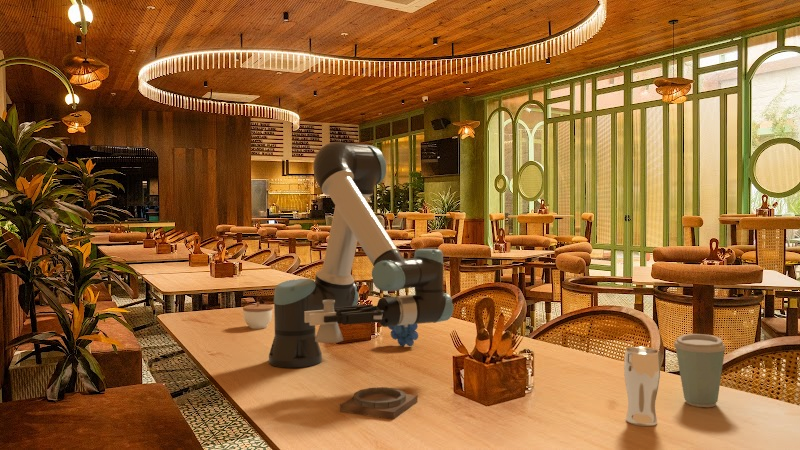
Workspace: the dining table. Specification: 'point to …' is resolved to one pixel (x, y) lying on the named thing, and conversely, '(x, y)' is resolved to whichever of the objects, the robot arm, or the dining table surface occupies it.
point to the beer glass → (641, 384)
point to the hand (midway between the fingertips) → (307, 318)
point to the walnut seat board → (379, 402)
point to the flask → (329, 327)
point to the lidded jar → (257, 315)
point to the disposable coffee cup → (700, 367)
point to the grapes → (404, 334)
